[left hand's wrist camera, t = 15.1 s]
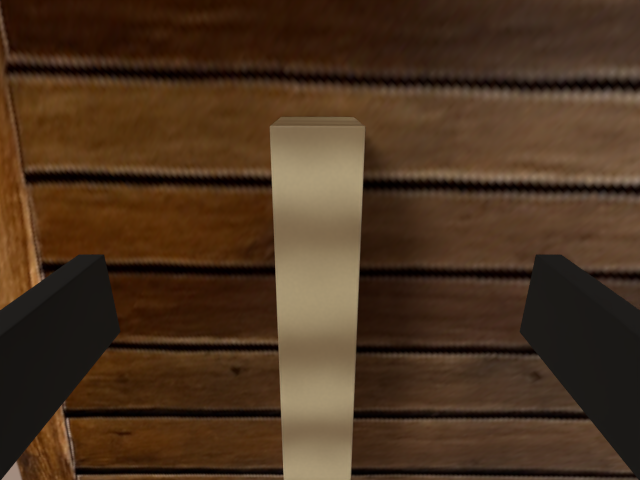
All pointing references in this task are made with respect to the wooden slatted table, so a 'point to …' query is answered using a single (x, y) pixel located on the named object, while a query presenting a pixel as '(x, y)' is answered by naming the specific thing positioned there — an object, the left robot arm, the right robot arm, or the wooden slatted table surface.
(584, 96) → the wooden slatted table surface
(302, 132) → the birch beam
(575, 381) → the left robot arm
